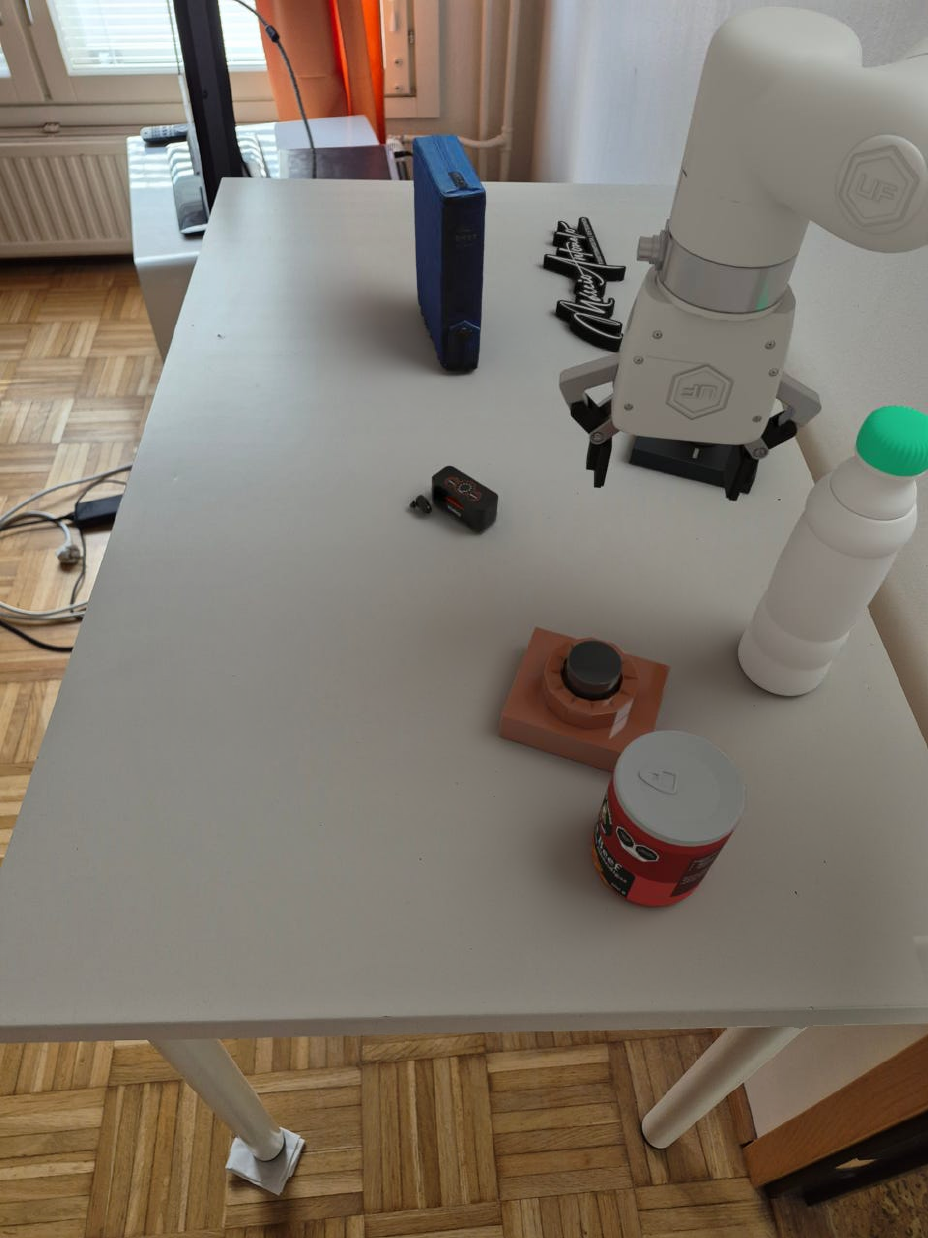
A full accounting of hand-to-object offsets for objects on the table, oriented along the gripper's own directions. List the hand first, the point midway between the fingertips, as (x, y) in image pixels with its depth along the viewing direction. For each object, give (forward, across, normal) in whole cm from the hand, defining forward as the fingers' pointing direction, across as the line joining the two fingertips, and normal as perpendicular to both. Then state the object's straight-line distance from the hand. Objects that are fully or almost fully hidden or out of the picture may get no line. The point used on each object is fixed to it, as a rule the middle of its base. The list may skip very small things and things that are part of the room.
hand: (663, 481), depth 65 cm
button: (+10, -4, -11) cm, 15 cm away
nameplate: (+15, -4, +51) cm, 53 cm away
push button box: (+15, -4, -11) cm, 19 cm away
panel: (+14, +7, +22) cm, 27 cm away
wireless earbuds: (+15, -16, +9) cm, 24 cm away
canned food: (+15, +1, -23) cm, 27 cm away
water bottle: (+15, +12, -5) cm, 20 cm away
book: (+15, -20, +37) cm, 44 cm away
